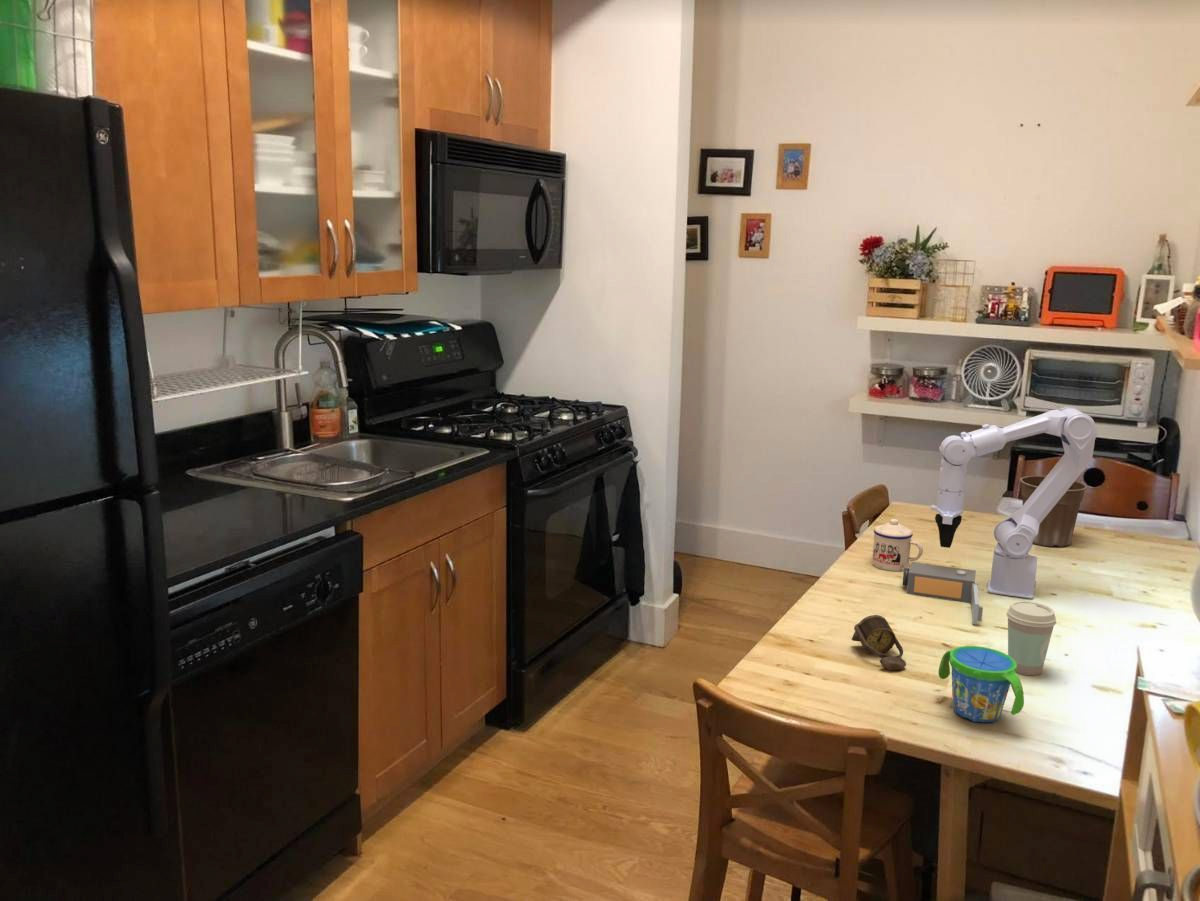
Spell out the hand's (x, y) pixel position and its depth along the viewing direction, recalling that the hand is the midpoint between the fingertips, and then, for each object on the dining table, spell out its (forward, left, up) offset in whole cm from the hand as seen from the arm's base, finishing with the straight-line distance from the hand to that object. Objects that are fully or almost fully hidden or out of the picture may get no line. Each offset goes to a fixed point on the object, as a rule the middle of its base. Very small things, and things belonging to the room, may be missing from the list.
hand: (945, 546), depth 227 cm
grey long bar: (-8, +16, -9) cm, 20 cm away
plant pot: (-24, -49, -10) cm, 55 cm away
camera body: (0, +5, -9) cm, 11 cm away
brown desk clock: (+9, +47, -10) cm, 49 cm away
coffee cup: (-17, +41, -10) cm, 45 cm away
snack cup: (-9, +64, -10) cm, 65 cm away
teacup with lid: (+11, -9, -10) cm, 17 cm away
